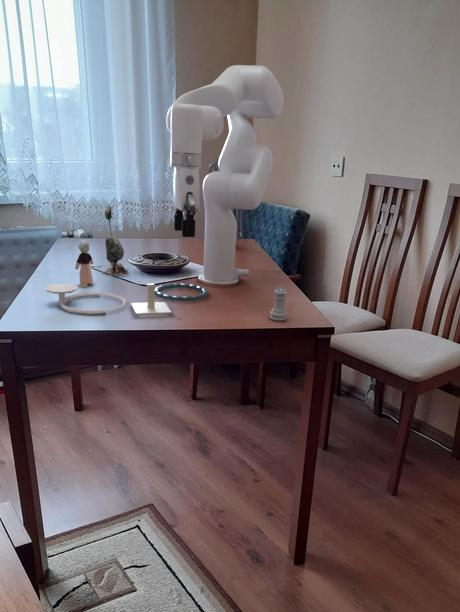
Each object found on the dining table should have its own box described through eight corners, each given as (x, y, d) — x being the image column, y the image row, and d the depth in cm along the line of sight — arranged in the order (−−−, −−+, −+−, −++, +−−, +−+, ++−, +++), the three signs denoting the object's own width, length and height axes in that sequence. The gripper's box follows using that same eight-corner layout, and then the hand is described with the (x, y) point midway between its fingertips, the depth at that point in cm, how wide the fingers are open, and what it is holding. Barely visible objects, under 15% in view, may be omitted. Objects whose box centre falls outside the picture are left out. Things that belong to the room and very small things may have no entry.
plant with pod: (99, 277, 169) (95, 208, 160) (108, 269, 179) (104, 204, 170) (125, 279, 169) (123, 210, 160) (132, 270, 179) (131, 205, 170)
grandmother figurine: (87, 288, 157) (84, 243, 152) (74, 287, 158) (71, 241, 152) (98, 282, 164) (95, 238, 158) (86, 281, 165) (83, 237, 159)
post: (165, 306, 147) (165, 279, 143) (172, 316, 139) (172, 288, 136) (131, 307, 144) (130, 280, 141) (136, 318, 136) (135, 289, 133)
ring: (200, 287, 165) (200, 282, 164) (214, 302, 152) (214, 296, 151) (149, 289, 161) (149, 283, 160) (159, 304, 148) (159, 298, 147)
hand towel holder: (121, 299, 135) (35, 296, 134) (122, 317, 137) (37, 313, 136) (129, 281, 150) (52, 278, 149) (130, 297, 152) (54, 294, 151)
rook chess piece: (268, 316, 144) (270, 285, 140) (285, 316, 144) (288, 286, 140) (270, 321, 140) (273, 290, 136) (288, 322, 140) (291, 290, 136)
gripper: (209, 164, 129) (206, 239, 137) (192, 160, 144) (190, 228, 151) (178, 162, 127) (176, 239, 135) (164, 158, 142) (163, 228, 149)
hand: (184, 233), depth 143 cm, fingers open, 9 cm apart
